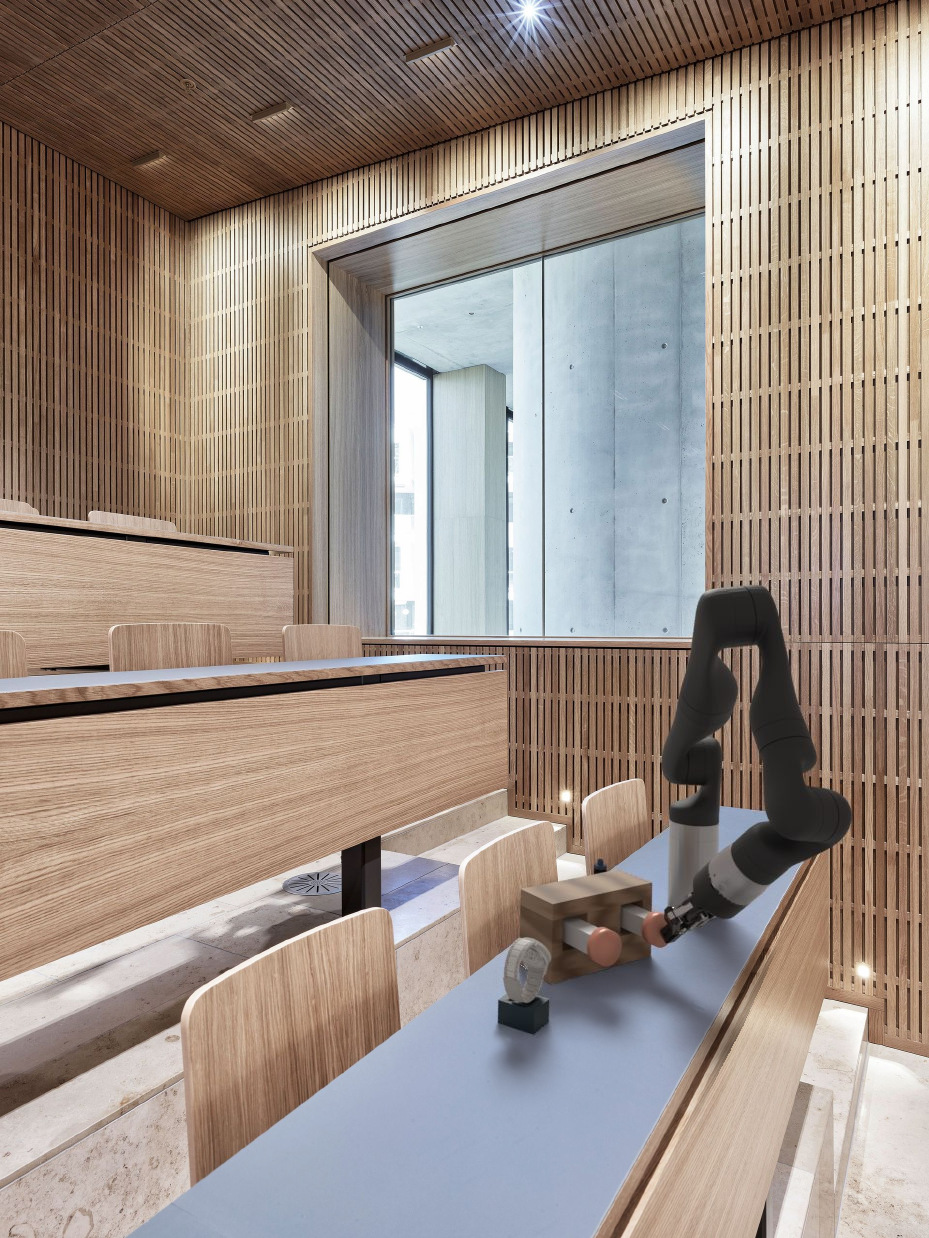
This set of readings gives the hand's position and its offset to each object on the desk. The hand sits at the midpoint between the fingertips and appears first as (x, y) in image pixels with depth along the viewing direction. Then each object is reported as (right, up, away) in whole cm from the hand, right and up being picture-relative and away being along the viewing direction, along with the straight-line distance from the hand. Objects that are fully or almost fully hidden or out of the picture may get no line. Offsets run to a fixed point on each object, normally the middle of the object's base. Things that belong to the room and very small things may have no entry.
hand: (665, 937), depth 122 cm
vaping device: (-8, -7, +21) cm, 24 cm away
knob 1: (-13, -1, -2) cm, 13 cm away
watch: (-23, -6, -15) cm, 28 cm away
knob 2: (-3, -2, +5) cm, 6 cm away
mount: (-11, -6, +6) cm, 14 cm away
